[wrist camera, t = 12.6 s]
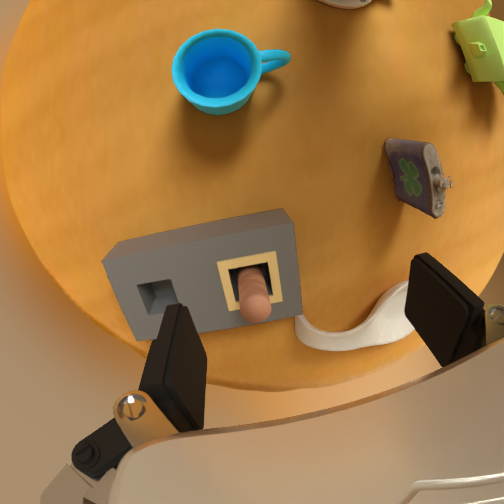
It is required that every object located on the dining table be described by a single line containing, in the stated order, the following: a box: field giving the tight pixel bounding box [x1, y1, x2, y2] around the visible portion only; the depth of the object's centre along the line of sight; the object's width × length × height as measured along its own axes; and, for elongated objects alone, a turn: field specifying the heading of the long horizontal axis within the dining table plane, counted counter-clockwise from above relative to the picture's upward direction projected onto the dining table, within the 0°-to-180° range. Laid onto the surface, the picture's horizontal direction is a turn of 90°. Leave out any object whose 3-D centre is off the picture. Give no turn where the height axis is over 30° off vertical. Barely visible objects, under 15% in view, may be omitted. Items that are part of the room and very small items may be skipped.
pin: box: [237, 264, 271, 323], centre depth 31 cm, size 3×3×10 cm
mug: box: [172, 29, 291, 115], centre depth 24 cm, size 12×8×8 cm
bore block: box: [102, 208, 303, 341], centre depth 34 cm, size 22×12×6 cm, turn 100°
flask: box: [384, 138, 452, 219], centre depth 29 cm, size 9×3×11 cm, turn 21°
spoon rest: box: [295, 280, 415, 351], centre depth 39 cm, size 24×12×7 cm, turn 96°
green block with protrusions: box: [452, 0, 504, 94], centre depth 21 cm, size 15×14×11 cm
